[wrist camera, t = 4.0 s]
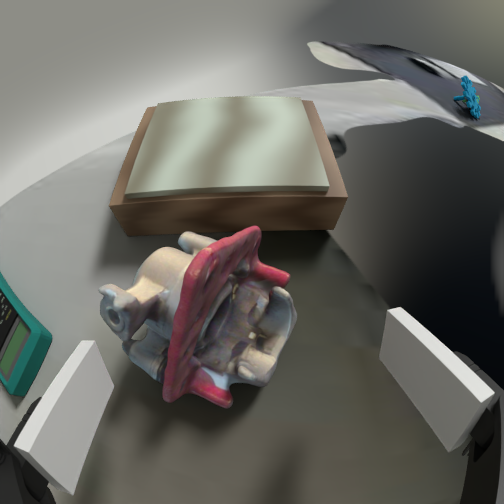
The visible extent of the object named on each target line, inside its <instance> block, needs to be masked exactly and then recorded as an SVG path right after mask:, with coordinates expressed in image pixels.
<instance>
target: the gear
mask: <svg viewBox="0 0 504 504" xmlns="http://www.w3.org/2000/svg"><path fill="white" fill-rule="evenodd" d="M461 79H462V81H463V82H461V86H462V87H463V89H464V91H463V95H464V96H456V97H454V101H459V100H463V102H466V104H467V107H468V108H470V107H471V110H470V112H471V115H472V116H474V117H475V118H479V117H478V116H480V112H479V111H480V106H479V104H478V102H479V100H480V99H479V96H476V95H475V93H476V90H475V87H472V86H471V85H472V82H471V80H469V79H468V77H467V76H464V77H461Z"/></svg>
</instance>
